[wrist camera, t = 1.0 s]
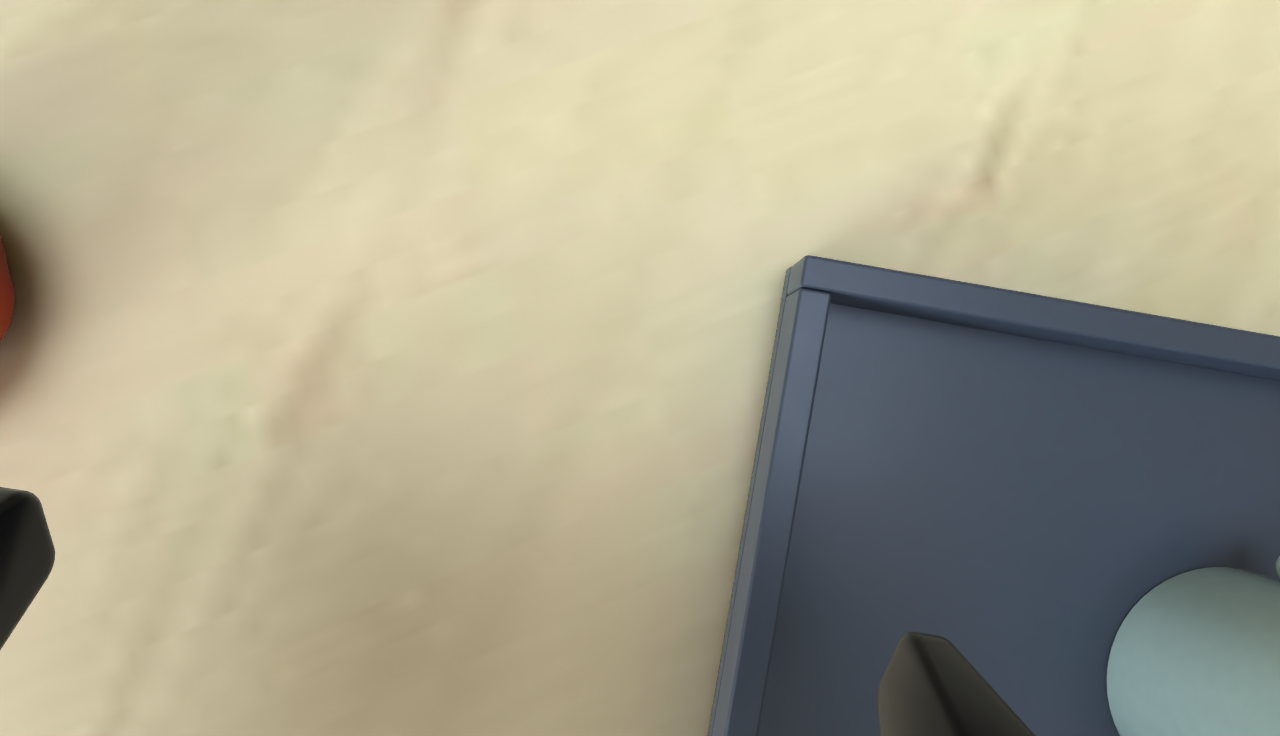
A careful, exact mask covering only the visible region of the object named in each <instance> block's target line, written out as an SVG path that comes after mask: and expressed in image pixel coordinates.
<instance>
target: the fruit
mask: <svg viewBox="0 0 1280 736" xmlns="http://www.w3.org/2000/svg"><path fill="white" fill-rule="evenodd" d="M13 309H14V288H13V284H12V281H11V277H10V274H9V270H8V266H7V259H6V252H5V249H4V246H3V243H2V238H1V234H0V342H1V340H2V338H3V337H4V335H5V333H6V331H7V329H8V327H9V326H10V323H11V320H12V314H13Z"/></svg>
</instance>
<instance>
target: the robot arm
mask: <svg viewBox="0 0 1280 736" xmlns="http://www.w3.org/2000/svg"><path fill="white" fill-rule="evenodd" d="M54 559H55V549H54V545H53V542H52V539H51V535H50V532H49V529H48V525H47V522H46V518H45V515H44V512H43V508H42V505H41V502H40V500H39V499H38V498H37V497H36V496H35V495H34V494H33V493H30V492H28V491H22V490H16V489H10V488H3V487H0V650H1V648H2V647H3V645H4V644H5V642H6V641H7V639H8V638H9V636H10V634H11V633H12V631H13V630H14V628H15V627H16V625H17V624H18V622H19V621H20V619H21V618H22V616H23V615H24V613H25V611H26V610H27V608H28V607H29V605H30V604H31V602H32V601H33V599H34V598H35V596H36V595H37V593H38V592H39V590H40V588H41V587H42V585H43V584H44V582H45V581H46V579H47V578H48V576H49V574H50V572H51V570H52V567H53V564H54ZM877 702H878V714H879V725H880V736H1035V734H1034V733H1033V732H1032V731H1031V730H1030V729H1029V728H1028V727H1027V726H1026V725H1025V723H1024V722H1023V721H1022V720H1021V719H1020V718H1019V717H1018V716H1017V715H1016V713H1015V712H1014V711H1013V710H1012V709H1011V708H1010V707H1009V706H1008V705H1007V703H1006V702H1005V701H1004V700H1003V699H1002V698H1001V697H1000V696H999V695H998V693H997V692H996V691H995V690H994V689H993V688H992V687H991V686H990V685H989V684H988V682H987V681H986V680H985V679H984V678H983V677H982V676H981V675H980V674H979V672H978V671H977V670H976V669H975V668H974V667H973V666H972V665H971V664H970V662H969V661H968V660H967V659H966V658H965V657H964V656H963V655H962V654H961V652H960V651H959V650H958V649H957V648H956V647H955V646H954V645H953V644H952V643H951V642H950V641H949V640H948V639H946V638H944V637H942V636H938V635H931V634H925V633H919V632H907V633H905V634H904V635H903V636H902V637H901V639H900V641H899V643H898V645H897V647H896V649H895V651H894V653H893V655H892V657H891V659H890V661H889V663H888V666H887V668H886V670H885V672H884V674H883V676H882V678H881V681H880V684H879V688H878V700H877Z"/></svg>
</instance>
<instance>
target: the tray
mask: <svg viewBox="0 0 1280 736" xmlns="http://www.w3.org/2000/svg"><path fill="white" fill-rule="evenodd" d="M1279 555H1280V337H1279V336H1273V335H1267V334H1261V333H1255V332H1250V331H1244V330H1238V329H1232V328H1227V327H1221V326H1215V325H1209V324H1203V323H1198V322H1192V321H1186V320H1180V319H1174V318H1169V317H1163V316H1157V315H1151V314H1146V313H1140V312H1134V311H1128V310H1122V309H1117V308H1111V307H1105V306H1099V305H1093V304H1088V303H1082V302H1076V301H1070V300H1065V299H1059V298H1053V297H1047V296H1041V295H1036V294H1030V293H1024V292H1018V291H1012V290H1007V289H1001V288H995V287H989V286H984V285H978V284H972V283H966V282H960V281H955V280H949V279H943V278H937V277H931V276H926V275H920V274H914V273H908V272H902V271H897V270H891V269H885V268H879V267H874V266H868V265H862V264H856V263H850V262H845V261H839V260H833V259H827V258H821V257H816V256H810V255H808V256H805V257H804V258H803V259H801V260H800V261H799V262H797V263H796V264H795V265H794V266H792V267H790V268H789V269H788V270H787V271H786V277H785V283H784V289H783V295H782V301H781V307H780V313H779V318H778V324H777V330H776V336H775V342H774V348H773V354H772V360H771V366H770V372H769V378H768V384H767V389H766V395H765V401H764V407H763V413H762V419H761V425H760V431H759V437H758V443H757V449H756V454H755V460H754V466H753V472H752V478H751V484H750V490H749V496H748V502H747V508H746V514H745V519H744V525H743V531H742V537H741V543H740V549H739V555H738V561H737V567H736V573H735V579H734V584H733V590H732V596H731V602H730V608H729V614H728V620H727V626H726V632H725V638H724V644H723V650H722V655H721V661H720V667H719V673H718V679H717V685H716V691H715V697H714V703H713V709H712V715H711V720H710V726H709V732H708V736H880V725H879V714H878V702H877V700H878V688H879V684H880V681H881V678H882V676H883V674H884V672H885V670H886V668H887V666H888V663H889V661H890V659H891V657H892V655H893V653H894V651H895V649H896V647H897V645H898V643H899V641H900V639H901V637H902V636H903V635H904V634H905V633H907V632H919V633H925V634H931V635H938V636H942V637H944V638H946V639H948V640H949V641H950V642H951V643H952V644H953V645H954V646H955V647H956V648H957V649H958V650H959V651H960V652H961V654H962V655H963V656H964V657H965V658H966V659H967V660H968V661H969V662H970V664H971V665H972V666H973V667H974V668H975V669H976V670H977V671H978V672H979V674H980V675H981V676H982V677H983V678H984V679H985V680H986V681H987V682H988V684H989V685H990V686H991V687H992V688H993V689H994V690H995V691H996V692H997V693H998V695H999V696H1000V697H1001V698H1002V699H1003V700H1004V701H1005V702H1006V703H1007V705H1008V706H1009V707H1010V708H1011V709H1012V710H1013V711H1014V712H1015V713H1016V715H1017V716H1018V717H1019V718H1020V719H1021V720H1022V721H1023V722H1024V723H1025V725H1026V726H1027V727H1028V728H1029V729H1030V730H1031V731H1032V732H1033V733H1034V734H1035V736H1120V735H1119V733H1118V731H1117V728H1116V726H1115V724H1114V721H1113V718H1112V715H1111V711H1110V708H1109V702H1108V696H1107V682H1106V676H1107V665H1108V659H1109V655H1110V650H1111V647H1112V644H1113V641H1114V639H1115V636H1116V633H1117V631H1118V630H1119V628H1120V626H1121V624H1122V622H1123V620H1124V619H1125V617H1126V616H1127V615H1128V613H1129V612H1130V610H1131V609H1132V608H1133V607H1134V606H1135V604H1136V603H1137V602H1138V601H1139V600H1140V599H1141V598H1142V597H1143V596H1144V595H1146V594H1147V593H1148V592H1149V591H1150V590H1152V589H1153V588H1154V587H1156V586H1158V585H1159V584H1161V583H1162V582H1164V581H1166V580H1168V579H1170V578H1172V577H1174V576H1177V575H1179V574H1182V573H1185V572H1188V571H1192V570H1196V569H1202V568H1208V567H1231V568H1240V569H1244V570H1248V571H1253V572H1256V573H1260V574H1263V575H1266V576H1270V577H1273V578H1276V579H1280V577H1279V576H1278V574H1277V573H1276V569H1275V562H1276V560H1277V558H1278V557H1279Z"/></svg>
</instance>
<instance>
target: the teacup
mask: <svg viewBox="0 0 1280 736" xmlns="http://www.w3.org/2000/svg"><path fill="white" fill-rule="evenodd" d="M1275 569H1276V573H1277V574H1278V576H1279V577H1280V555H1279V557H1278V558H1277V560H1276V562H1275ZM1106 682H1107V696H1108V702H1109V708H1110V711H1111V715H1112V718H1113V721H1114V724H1115V726H1116V728H1117V731H1118V733H1119V735H1120V736H1280V579H1276V578H1273V577H1270V576H1266V575H1263V574H1260V573H1256V572H1253V571H1248V570H1244V569H1240V568H1231V567H1208V568H1202V569H1196V570H1192V571H1188V572H1185V573H1182V574H1179V575H1177V576H1174V577H1172V578H1170V579H1168V580H1166V581H1164V582H1162V583H1161V584H1159V585H1158V586H1156V587H1154V588H1153V589H1152V590H1150V591H1149V592H1148V593H1147V594H1146V595H1144V596H1143V597H1142V598H1141V599H1140V600H1139V601H1138V602H1137V603H1136V604H1135V606H1134V607H1133V608H1132V609H1131V610H1130V612H1129V613H1128V615H1127V616H1126V617H1125V619H1124V620H1123V622H1122V624H1121V626H1120V628H1119V630H1118V631H1117V633H1116V636H1115V639H1114V641H1113V644H1112V647H1111V650H1110V655H1109V659H1108V665H1107V676H1106Z"/></svg>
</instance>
